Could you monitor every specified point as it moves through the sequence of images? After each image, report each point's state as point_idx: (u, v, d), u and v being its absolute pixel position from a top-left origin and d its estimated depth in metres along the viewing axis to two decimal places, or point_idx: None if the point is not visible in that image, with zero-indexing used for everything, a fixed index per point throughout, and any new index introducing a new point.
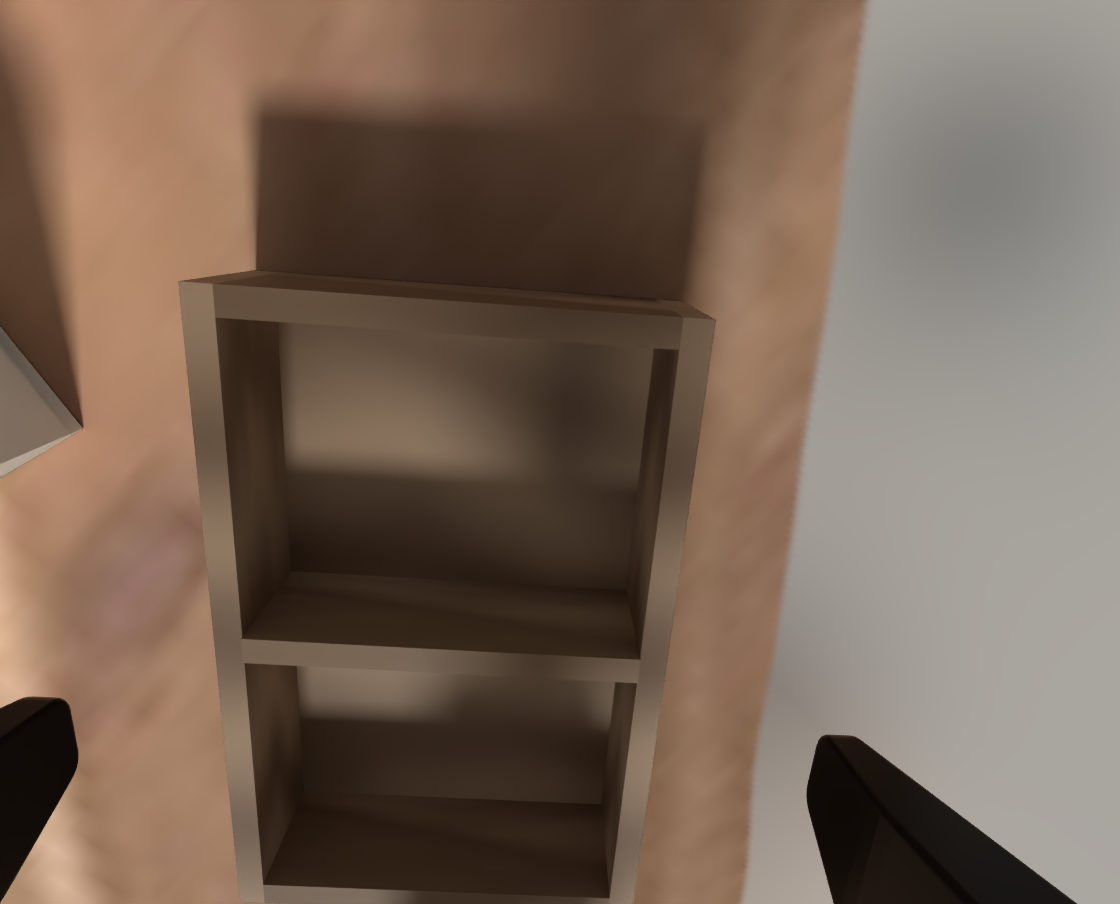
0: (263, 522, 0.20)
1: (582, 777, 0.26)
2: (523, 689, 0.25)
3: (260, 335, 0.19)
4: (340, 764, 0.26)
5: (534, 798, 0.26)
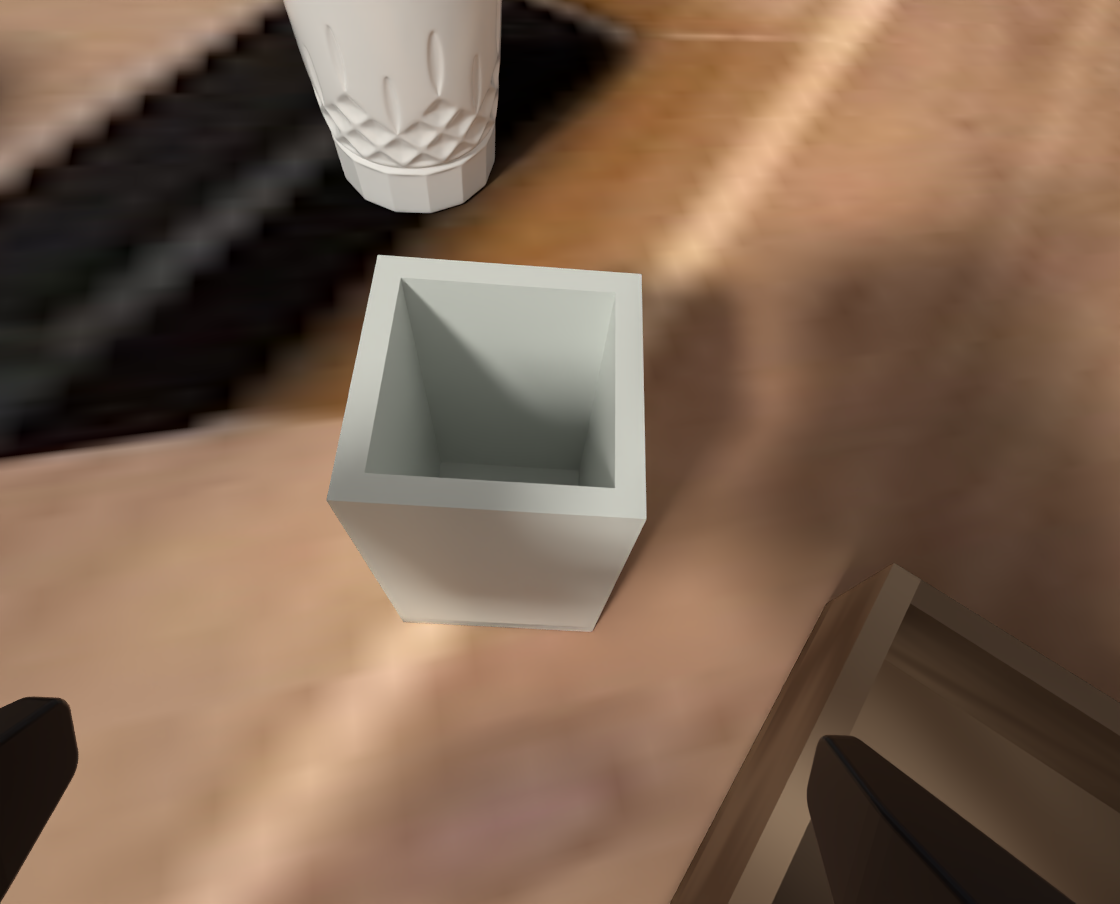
0: None
1: None
2: None
3: None
4: None
5: None
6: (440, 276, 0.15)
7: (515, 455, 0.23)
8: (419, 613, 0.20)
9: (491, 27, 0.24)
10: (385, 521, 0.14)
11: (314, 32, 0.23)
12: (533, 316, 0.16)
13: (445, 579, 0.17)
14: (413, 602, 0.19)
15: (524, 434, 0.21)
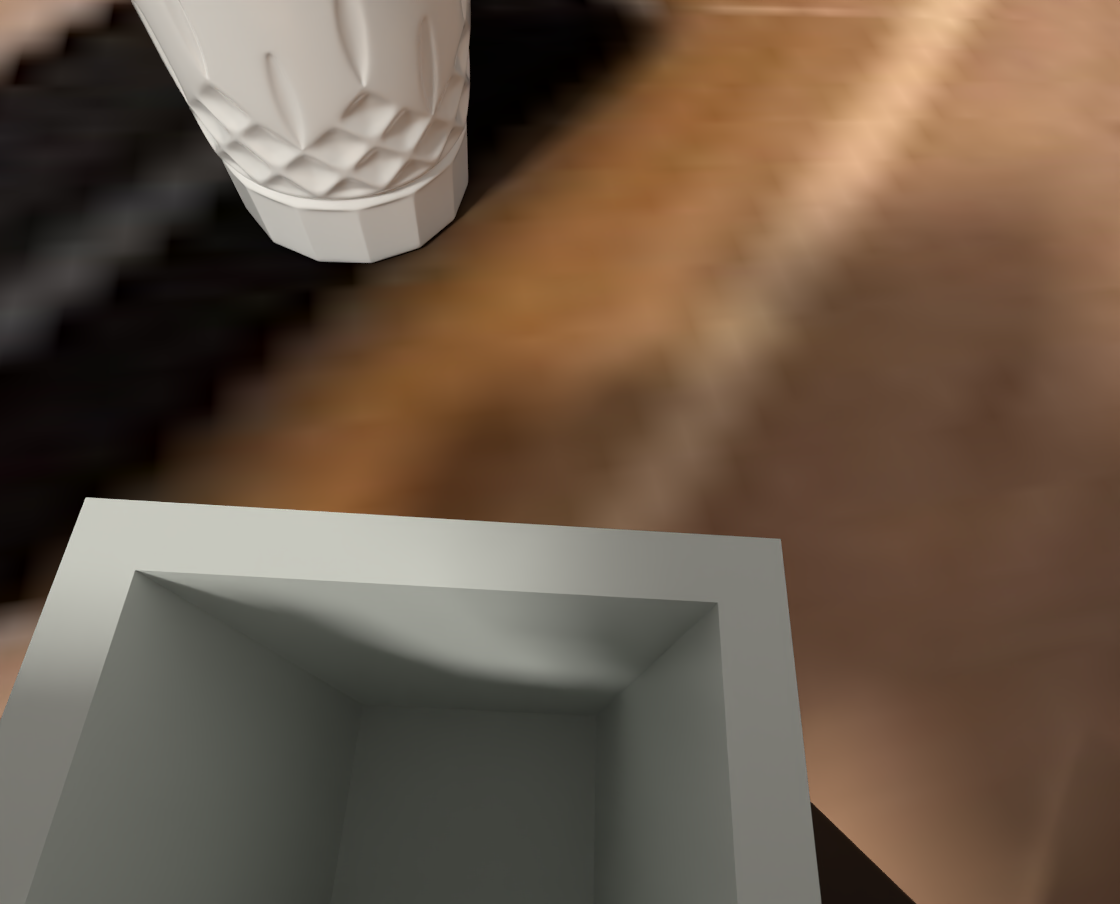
0: None
1: None
2: None
3: None
4: None
5: None
6: (248, 560, 0.06)
7: (487, 705, 0.13)
8: None
9: None
10: None
11: None
12: (504, 619, 0.07)
13: None
14: None
15: (500, 696, 0.12)
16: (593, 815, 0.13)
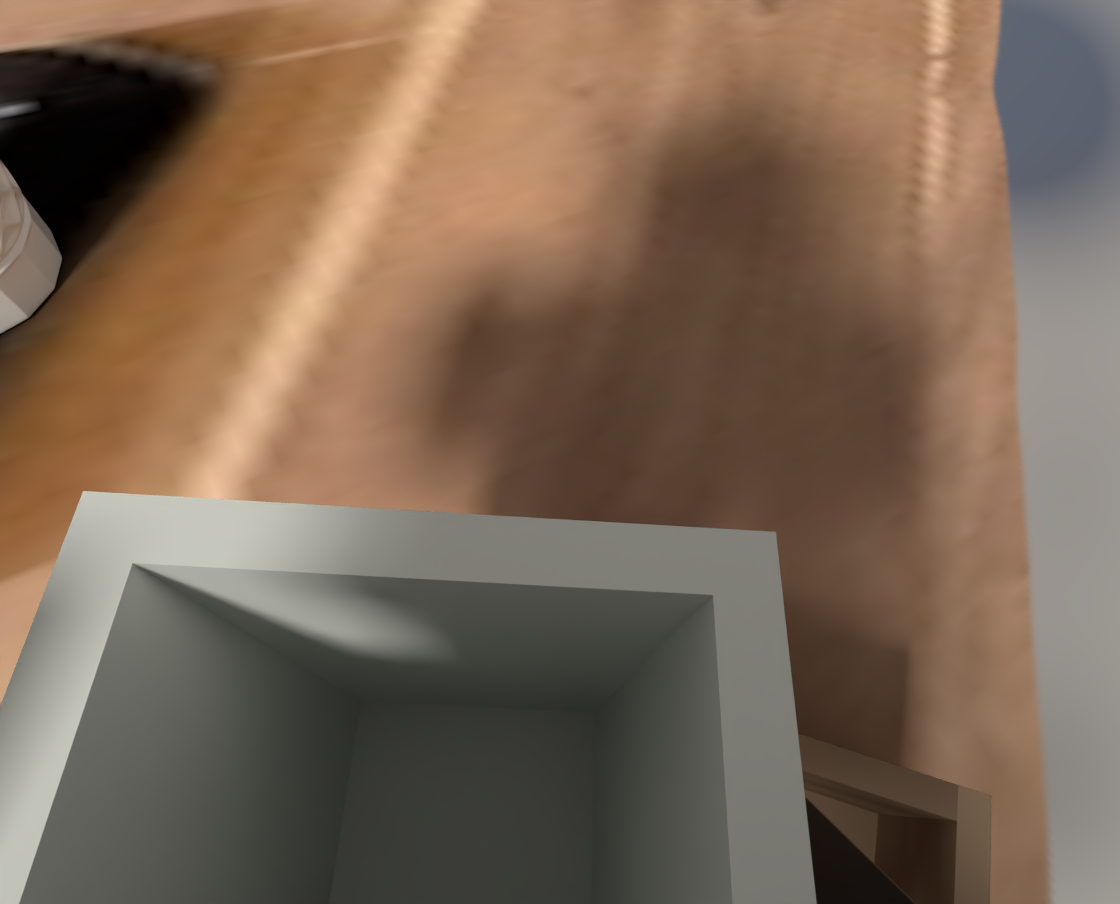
0: None
1: None
2: None
3: None
4: None
5: None
6: (244, 553, 0.06)
7: (485, 702, 0.13)
8: None
9: None
10: None
11: None
12: (500, 613, 0.07)
13: None
14: None
15: (498, 692, 0.12)
16: (591, 811, 0.13)
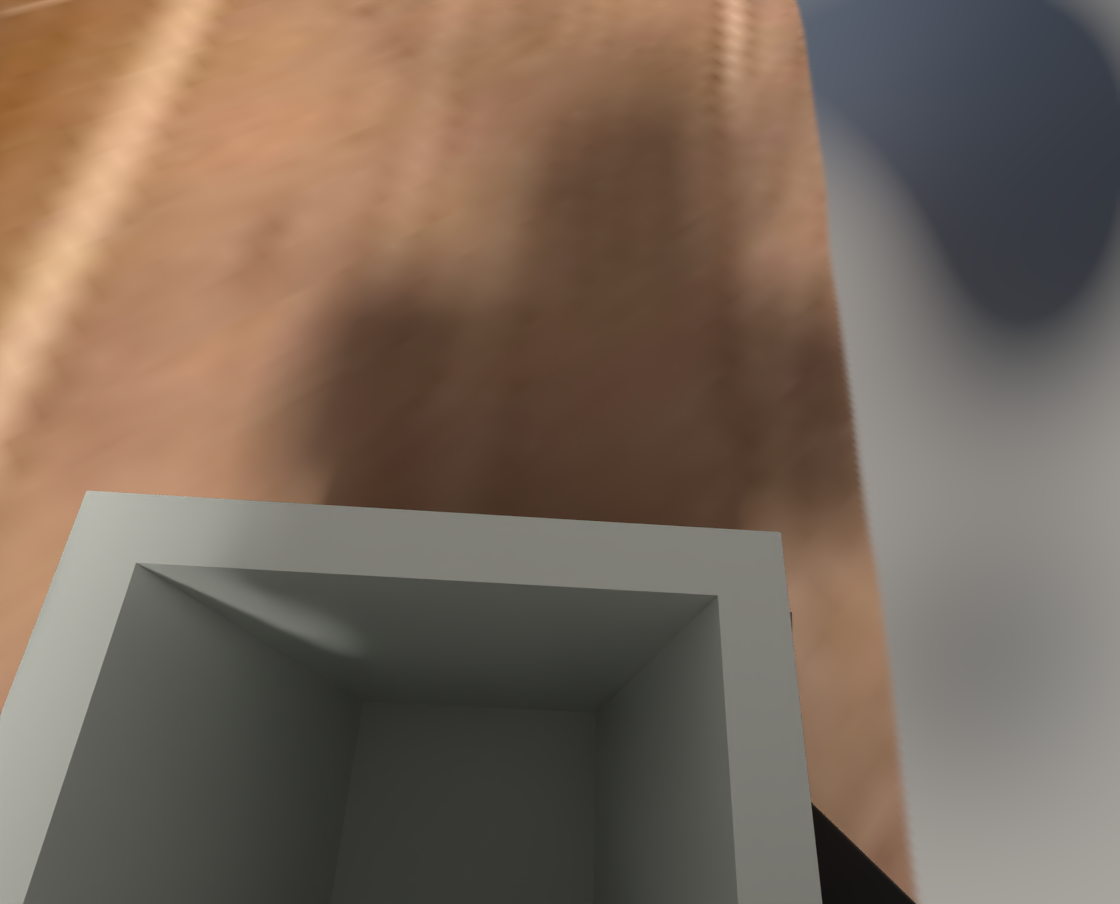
0: None
1: None
2: None
3: None
4: None
5: None
6: (248, 553, 0.06)
7: (487, 702, 0.13)
8: None
9: None
10: None
11: None
12: (504, 612, 0.07)
13: None
14: None
15: (500, 692, 0.12)
16: (593, 812, 0.13)
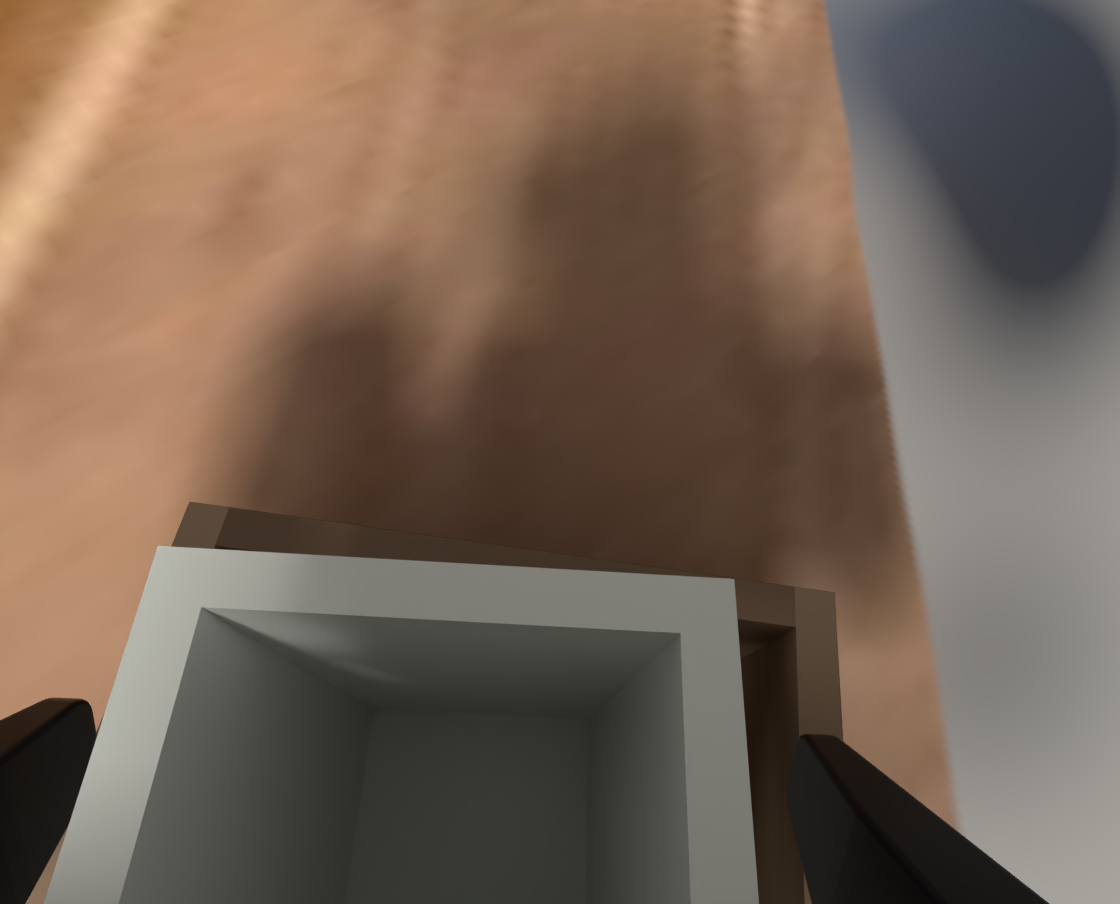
0: None
1: None
2: None
3: None
4: None
5: None
6: (292, 598, 0.07)
7: (488, 711, 0.14)
8: None
9: None
10: None
11: None
12: (504, 643, 0.08)
13: None
14: None
15: (500, 703, 0.13)
16: (585, 811, 0.15)
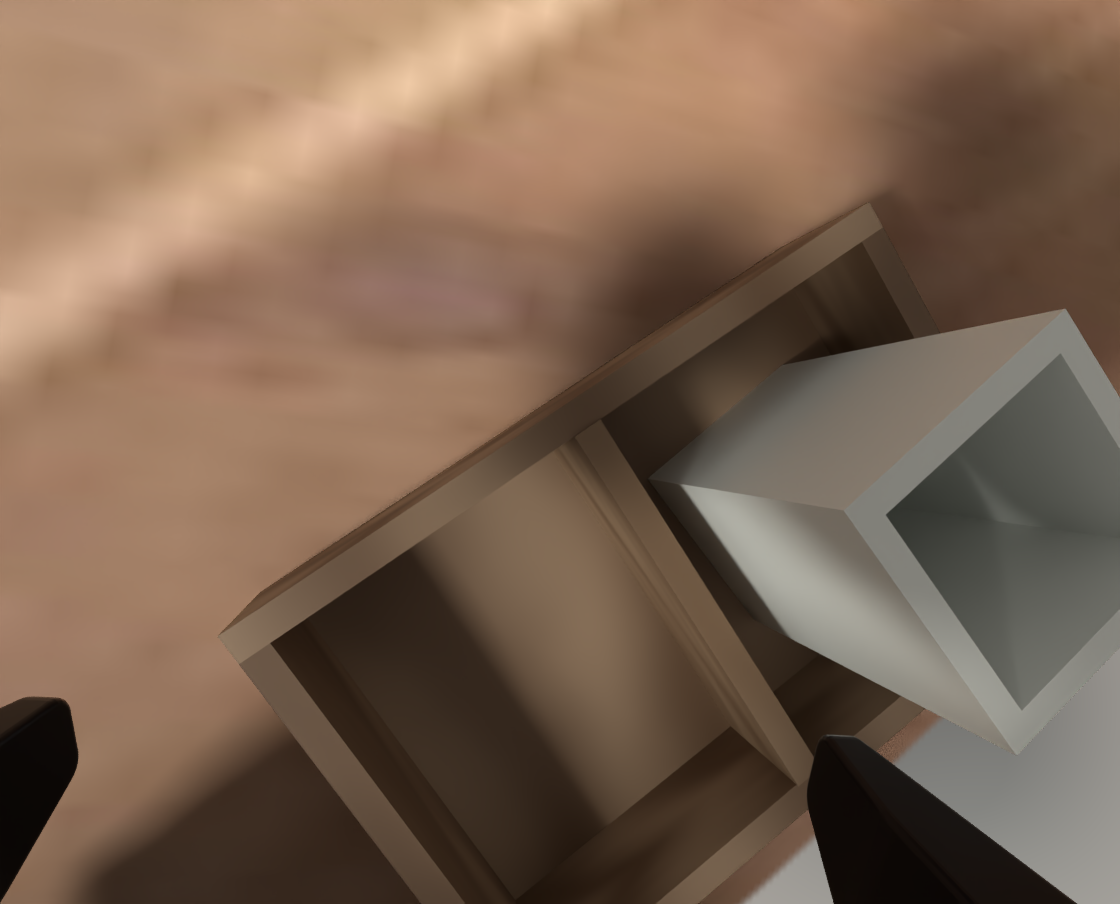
0: None
1: (534, 853, 0.21)
2: (592, 713, 0.21)
3: None
4: (366, 615, 0.20)
5: (472, 833, 0.21)
6: (1085, 384, 0.13)
7: None
8: (674, 497, 0.21)
9: None
10: (838, 542, 0.13)
11: None
12: (1084, 473, 0.14)
13: (759, 544, 0.17)
14: (692, 501, 0.19)
15: None
16: None
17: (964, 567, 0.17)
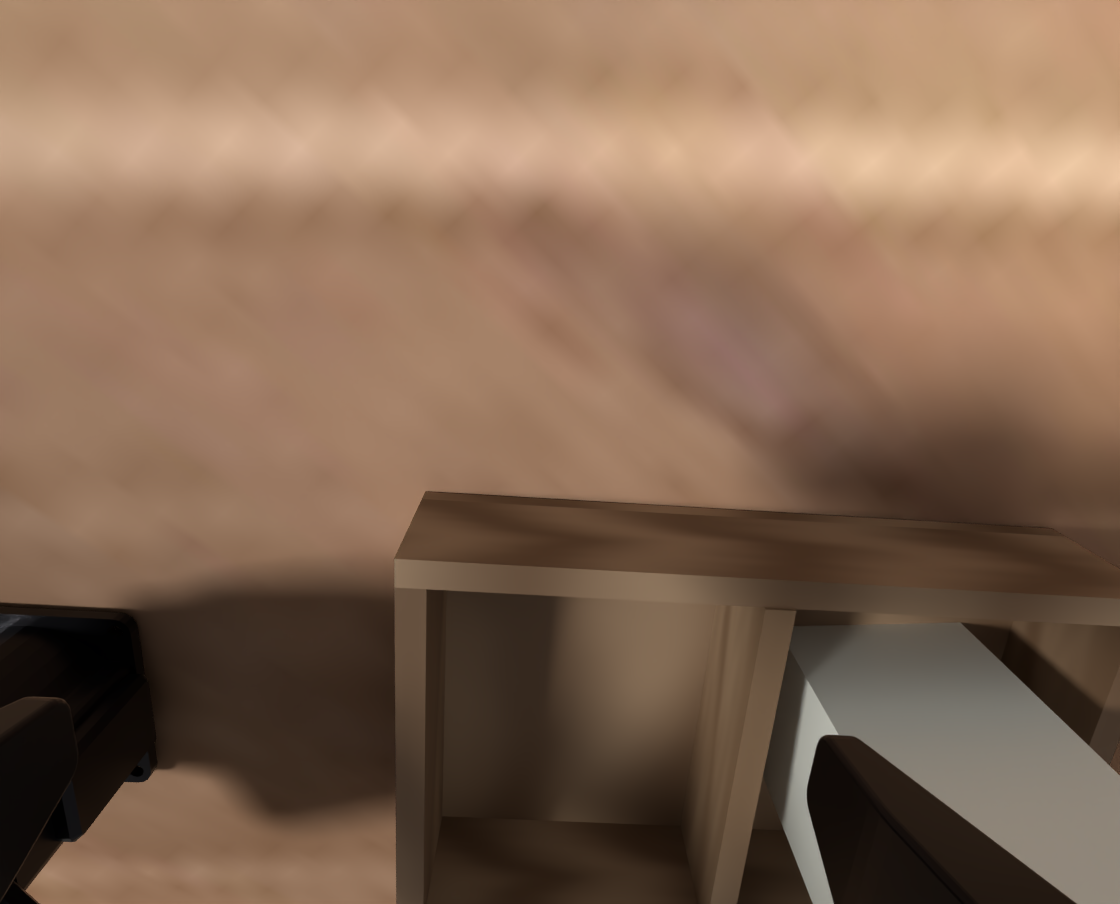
0: None
1: (478, 799, 0.24)
2: (592, 747, 0.24)
3: None
4: None
5: (447, 758, 0.24)
6: None
7: None
8: (787, 667, 0.21)
9: None
10: None
11: None
12: None
13: None
14: (803, 695, 0.20)
15: None
16: None
17: None
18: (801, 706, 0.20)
